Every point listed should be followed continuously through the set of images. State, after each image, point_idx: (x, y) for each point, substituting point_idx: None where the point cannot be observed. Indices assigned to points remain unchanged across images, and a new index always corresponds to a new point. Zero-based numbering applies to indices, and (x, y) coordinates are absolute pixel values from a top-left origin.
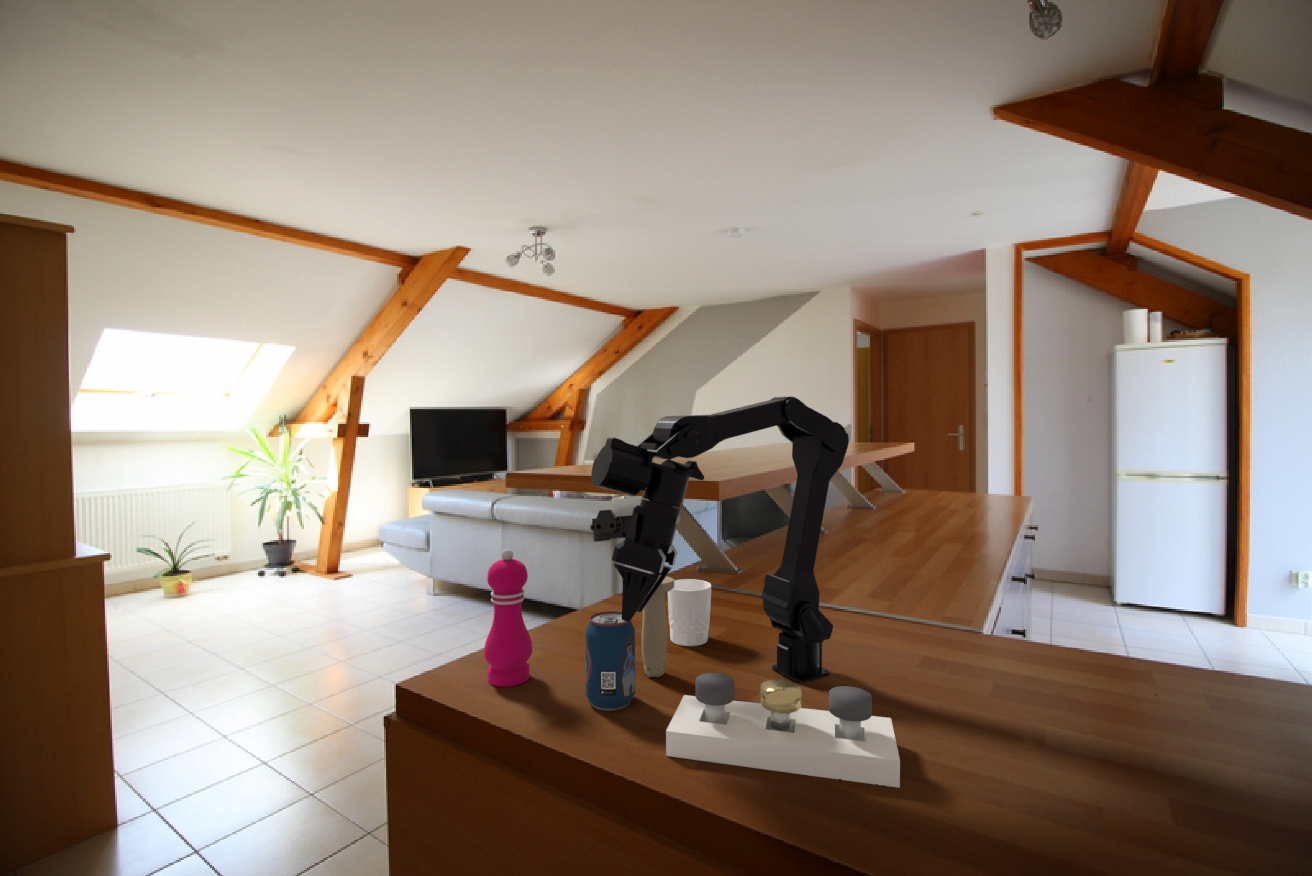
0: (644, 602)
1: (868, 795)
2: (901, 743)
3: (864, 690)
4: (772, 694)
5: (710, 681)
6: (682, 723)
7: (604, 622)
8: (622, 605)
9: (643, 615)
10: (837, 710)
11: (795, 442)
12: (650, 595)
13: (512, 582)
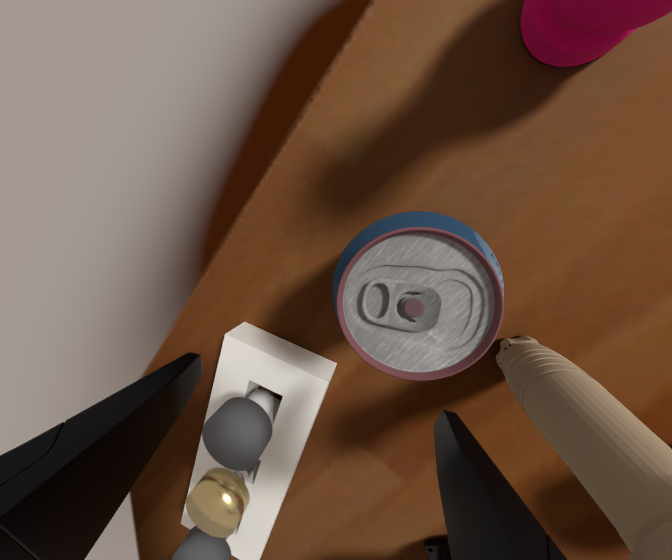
0: (440, 471)
1: (189, 470)
2: (266, 543)
3: None
4: (190, 494)
5: (227, 436)
6: (243, 358)
7: (369, 284)
8: (131, 384)
9: (611, 422)
10: (189, 535)
11: None
12: (449, 526)
13: None
